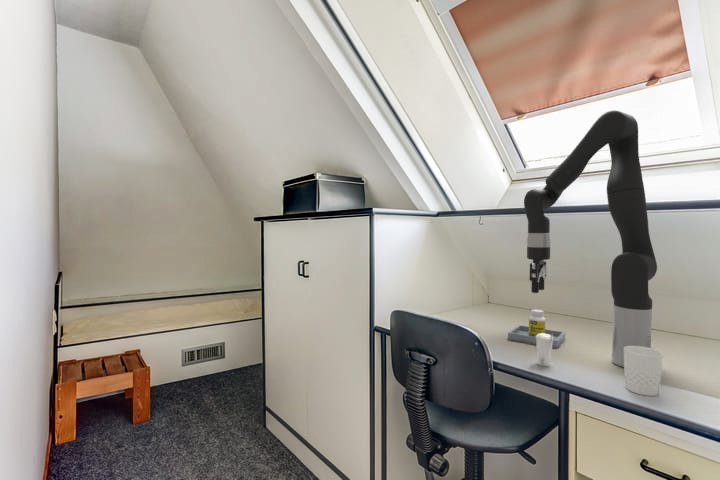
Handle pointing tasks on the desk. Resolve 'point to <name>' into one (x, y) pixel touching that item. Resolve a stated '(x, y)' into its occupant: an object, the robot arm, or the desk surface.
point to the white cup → (642, 370)
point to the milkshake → (544, 348)
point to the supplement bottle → (536, 323)
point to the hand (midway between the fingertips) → (538, 291)
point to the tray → (523, 336)
